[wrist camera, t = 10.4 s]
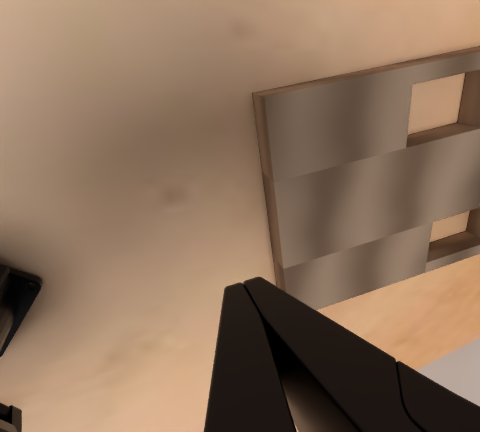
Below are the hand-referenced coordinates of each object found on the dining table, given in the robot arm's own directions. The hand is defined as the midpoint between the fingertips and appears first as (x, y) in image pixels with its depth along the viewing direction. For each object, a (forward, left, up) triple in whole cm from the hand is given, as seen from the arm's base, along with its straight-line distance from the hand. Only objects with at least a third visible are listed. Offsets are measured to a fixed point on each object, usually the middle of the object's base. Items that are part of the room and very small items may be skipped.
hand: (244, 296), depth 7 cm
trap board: (+8, -16, -13) cm, 22 cm away
